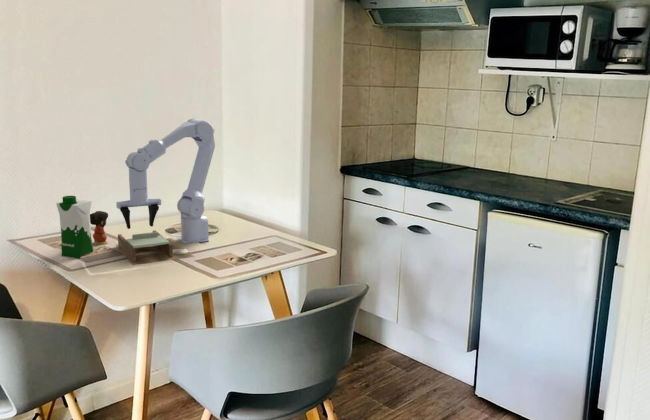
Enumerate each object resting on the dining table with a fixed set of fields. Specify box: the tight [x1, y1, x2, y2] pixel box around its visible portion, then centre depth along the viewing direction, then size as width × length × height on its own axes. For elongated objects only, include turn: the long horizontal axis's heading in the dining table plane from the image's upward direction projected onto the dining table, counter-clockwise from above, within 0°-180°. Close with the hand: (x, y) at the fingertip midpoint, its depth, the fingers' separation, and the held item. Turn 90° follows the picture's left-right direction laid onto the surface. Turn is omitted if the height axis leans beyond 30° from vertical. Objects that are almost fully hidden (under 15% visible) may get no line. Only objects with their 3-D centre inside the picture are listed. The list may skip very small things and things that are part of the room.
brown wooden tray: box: [115, 229, 195, 266], centre depth 202 cm, size 20×25×5 cm
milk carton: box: [55, 195, 94, 259], centre depth 195 cm, size 9×9×20 cm
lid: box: [126, 231, 169, 248], centre depth 196 cm, size 12×9×2 cm
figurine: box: [90, 210, 109, 246], centre depth 208 cm, size 6×6×12 cm
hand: (140, 227), depth 203 cm, fingers open, 7 cm apart
